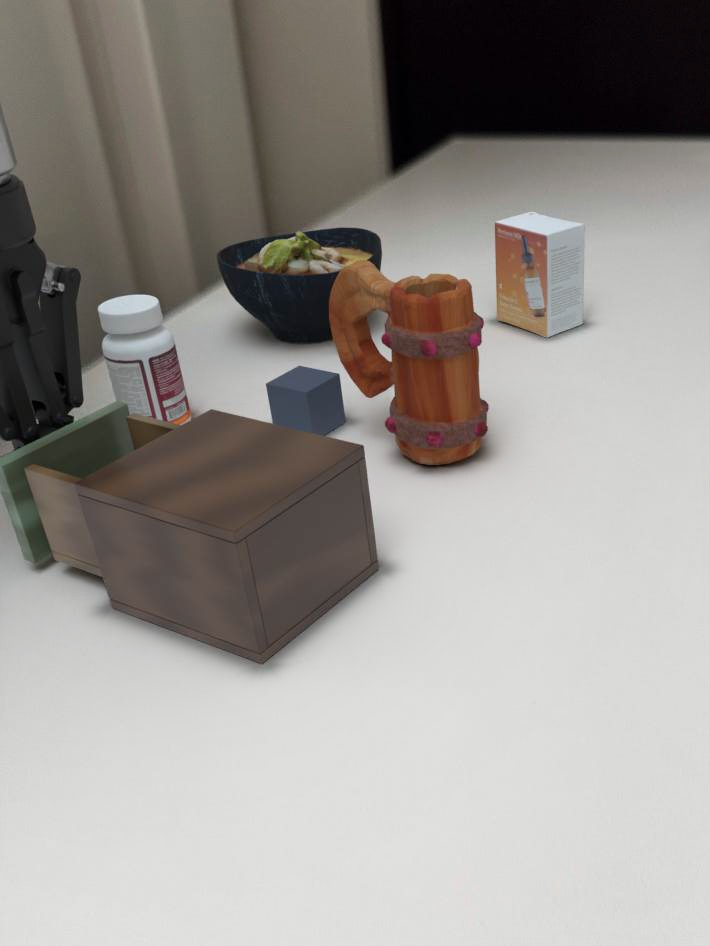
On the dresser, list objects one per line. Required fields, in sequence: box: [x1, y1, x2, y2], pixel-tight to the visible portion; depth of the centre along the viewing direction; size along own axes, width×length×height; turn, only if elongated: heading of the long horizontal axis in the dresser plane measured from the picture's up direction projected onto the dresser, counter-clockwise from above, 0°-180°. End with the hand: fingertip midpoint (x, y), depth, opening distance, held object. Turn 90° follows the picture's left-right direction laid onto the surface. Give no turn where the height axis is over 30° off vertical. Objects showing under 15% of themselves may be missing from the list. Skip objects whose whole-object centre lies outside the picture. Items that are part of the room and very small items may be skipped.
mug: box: [329, 260, 490, 466], centre depth 86 cm, size 15×8×15 cm, turn 56°
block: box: [265, 365, 347, 436], centre depth 93 cm, size 5×5×5 cm
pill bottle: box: [97, 294, 192, 425], centre depth 93 cm, size 6×6×11 cm
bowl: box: [216, 227, 383, 344], centre depth 112 cm, size 17×17×10 cm
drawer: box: [0, 400, 181, 578], centre depth 76 cm, size 18×11×8 cm, turn 59°
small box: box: [494, 211, 586, 339], centre depth 111 cm, size 8×6×10 cm
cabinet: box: [74, 408, 380, 664], centre depth 71 cm, size 14×13×10 cm
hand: (62, 507), depth 81 cm, fingers closed
